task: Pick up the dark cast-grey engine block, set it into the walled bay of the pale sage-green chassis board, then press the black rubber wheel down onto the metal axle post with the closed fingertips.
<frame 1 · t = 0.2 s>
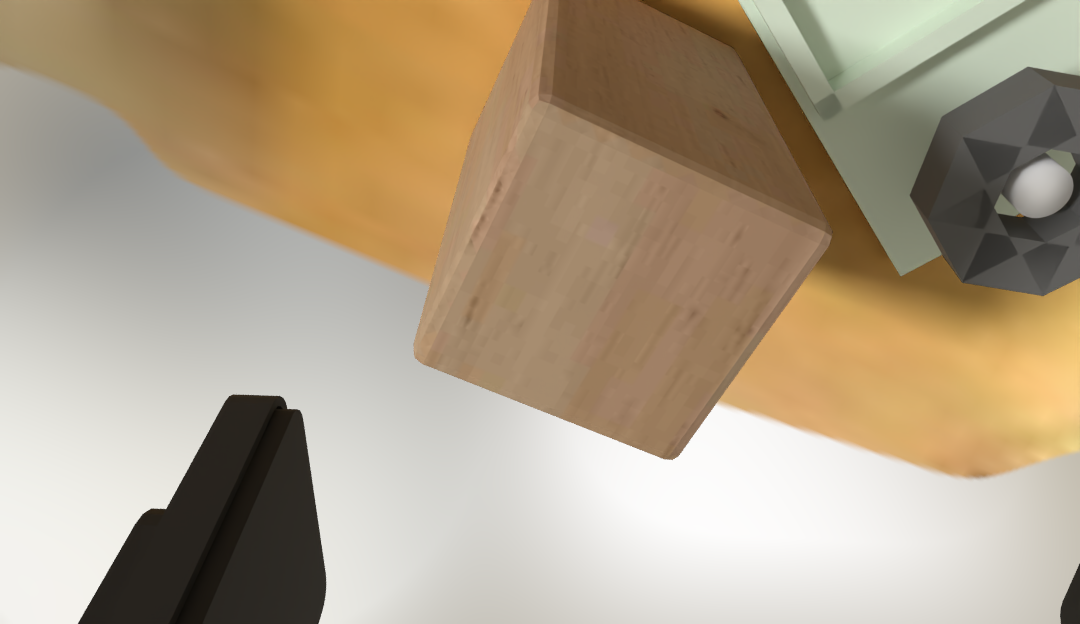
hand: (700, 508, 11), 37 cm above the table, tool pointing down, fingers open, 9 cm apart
chassis: (919, 17, 43), on the table
wheel: (1035, 185, 39), point 7 cm above the table, slide at 4.0 cm
wooden block: (599, 95, 46), on the table
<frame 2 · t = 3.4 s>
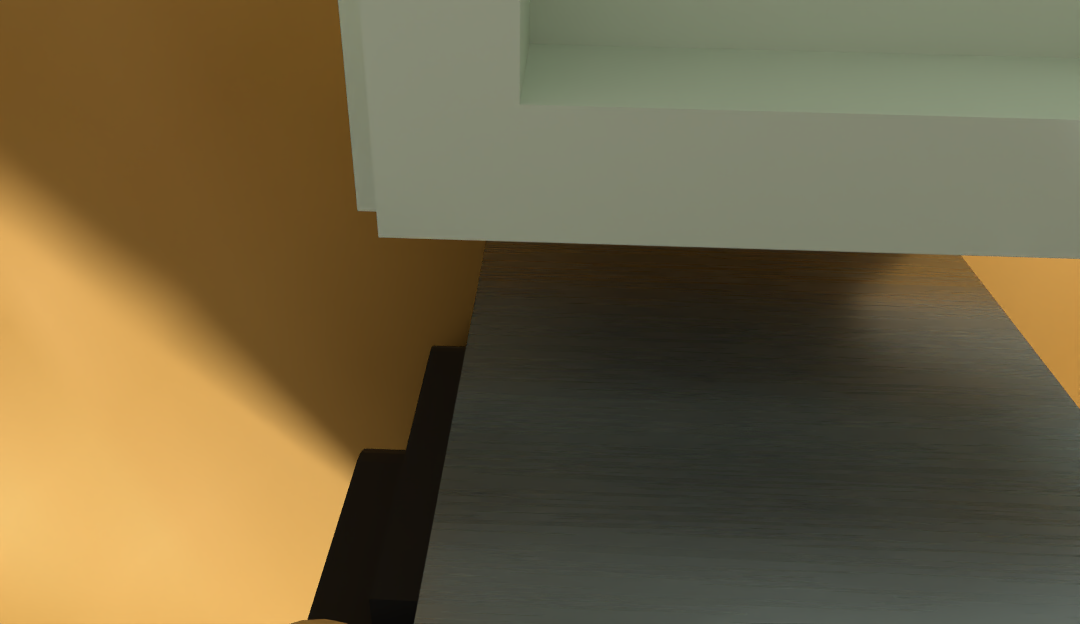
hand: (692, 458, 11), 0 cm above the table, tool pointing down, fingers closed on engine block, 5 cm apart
engine block: (687, 434, 12), on the table, touching gripper
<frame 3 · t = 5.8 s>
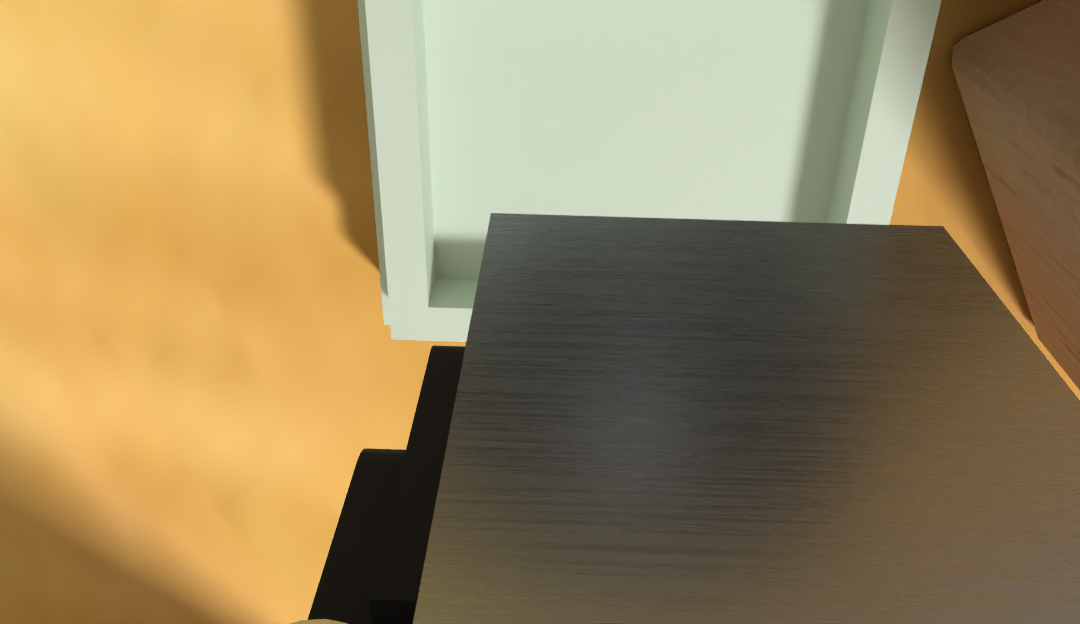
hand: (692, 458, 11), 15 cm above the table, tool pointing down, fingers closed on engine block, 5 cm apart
engine block: (688, 433, 12), point 14 cm above the table, touching gripper
when the fingers open (3 cm above the table, at t = 8.5 s): engine block stays where it is, resting on chassis.
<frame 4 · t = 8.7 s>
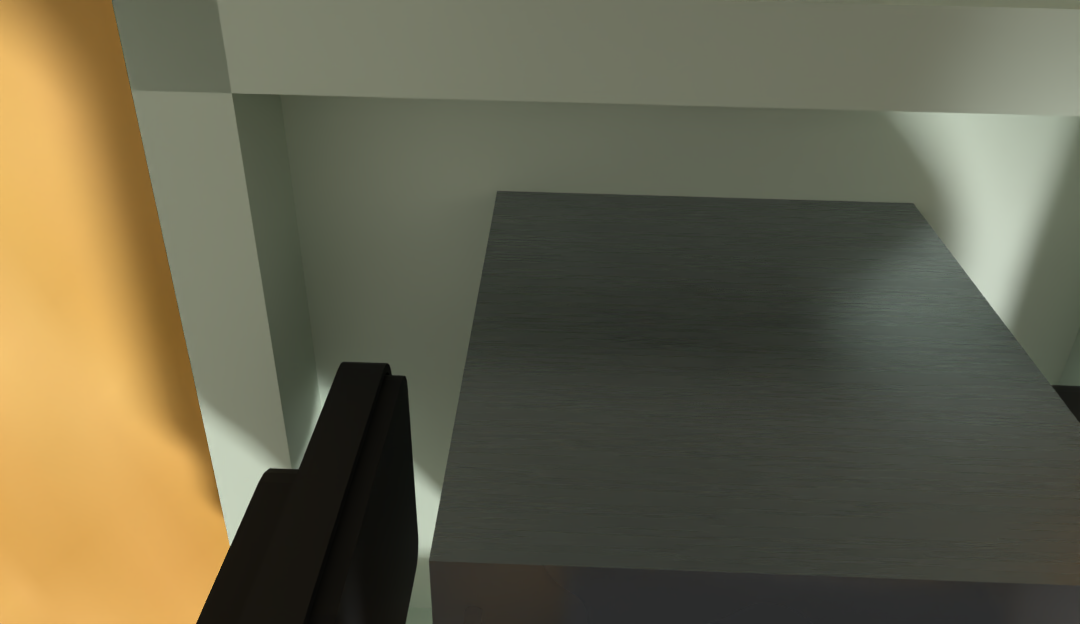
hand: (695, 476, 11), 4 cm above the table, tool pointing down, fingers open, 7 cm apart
engine block: (680, 398, 13), point 2 cm above the table, touching chassis
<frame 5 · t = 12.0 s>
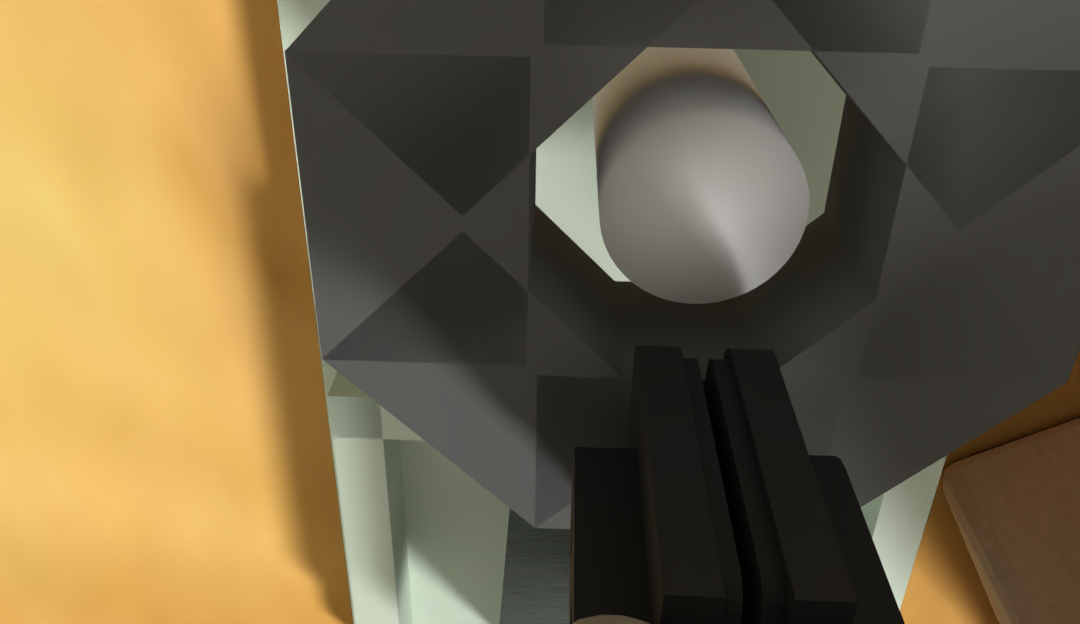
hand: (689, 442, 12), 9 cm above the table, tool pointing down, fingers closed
chassis: (629, 332, 21), on the table
wheel: (695, 187, 11), point 7 cm above the table, slide at 4.0 cm, touching gripper
engine block: (619, 562, 22), point 2 cm above the table, touching chassis
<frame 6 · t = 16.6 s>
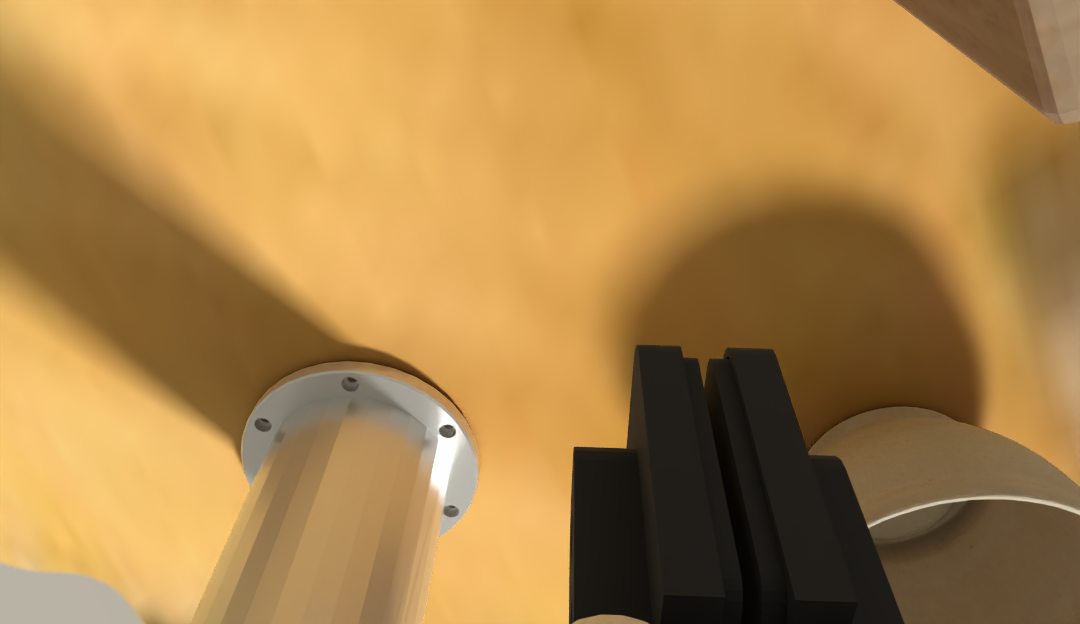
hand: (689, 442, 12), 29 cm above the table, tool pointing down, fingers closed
planter bowl: (884, 470, 49), on the table
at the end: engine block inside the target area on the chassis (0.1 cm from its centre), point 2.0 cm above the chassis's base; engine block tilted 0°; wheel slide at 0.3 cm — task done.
